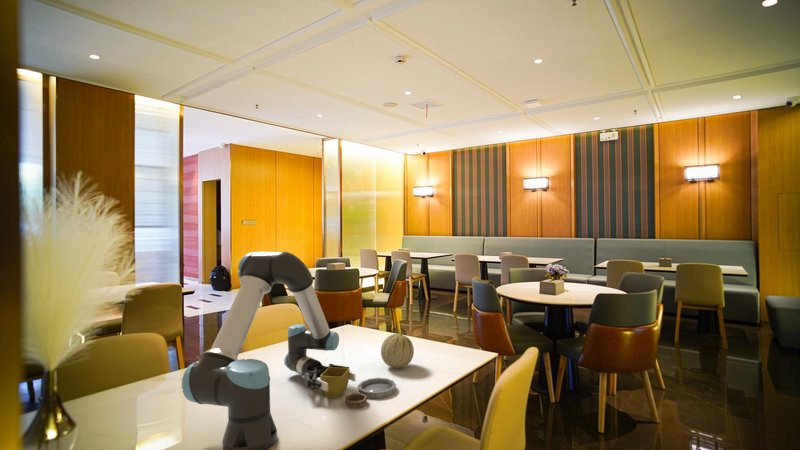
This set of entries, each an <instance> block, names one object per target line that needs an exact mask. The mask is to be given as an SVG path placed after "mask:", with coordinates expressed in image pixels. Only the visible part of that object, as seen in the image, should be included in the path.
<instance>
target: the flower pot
mask: <svg viewBox="0 0 800 450" xmlns="http://www.w3.org/2000/svg"><path fill="white" fill-rule="evenodd" d="M349 371H350V367H349V368H336V367H328V368H327V369H326V370H325V371H324V372H323V373H322V374H321V375H320V377H319V379H320V380H322V381H324V382H326V383H328V391H324V390H322V392H323V394H324V396H325V397H326V398H329V399H341V398H342V397H343V395H344V394H345V392H346V390H347V388H348V385H349V381H350V380H349ZM350 372H351V371H350Z"/></svg>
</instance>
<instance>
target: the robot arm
mask: <svg viewBox="0 0 800 450" xmlns="http://www.w3.org/2000/svg"><path fill="white" fill-rule="evenodd" d="M237 269H238V271H237V276H238V278H239V279H238V282H239V284H240V288H239V289H238V290H237V293H236V296H235V297H234V299H233V302H232V303H231V306H230V309H229V310H228V312H227V315H226V316H225V318H224V320H223V323H222V325H221V327H220V329H219V331H218V333H217V336H216V337H215V340H214V341H213V343H212V346H211V348H210V349H208V350H205V351H204V352H203V353H202V355H201V357H200V359H199V360H197V361H195V362H192V363H191V364H189V365H188V366H187V368H186V369H185V371H184V372H183V375H182V379H181V389H182V393H183V395H184V397H185V399H186V400H188V401H189V402H192V403H195V404H196V403H197V404H198V405H211V406H218V407H227V413H228V415H227V417H228V421H227V424H226V427H225V431H224V434H223V438H222V450H268V449H270V448H272V446H273V445H274V444H275V443H276V442H277V439H278V429H277V426H276V424H275V421H274V419H273V416H272V412H271V389H270V388H271V387H270V386H271V385H270V383H271V377H270V372H269V371H270V369H269V367H268V364H266V362H264V361H262V360H259V359H256V358H247V359H245V358H241V359H239V358H238V356H239V354H240V353H241V350H242V348H243V345H244V343H245V340H246V338H247V335H248V333H249V330H250V328H251V326H252V325H253V322H254V320H255V317H256V314H257V312H258V310H259V308H260V305H261V303H262V301H263V299H264V296H265V295H266V294H268V293H270V292H271V290H272V288H273V285H275V284H283V285H285V286H286V287H287V289H288V291H289V292H291V293H292V294H293V296H294V298H295V301H296V303H297V304H298V307H299V311H301V314H302V316H303V318H304V321H305V323H306V325H305V324H302V323H296V324H292V325H290V326H288V329H287V345H288V352H287V354H285V356H284V359H283V363H284V366H285V367H286V368H287V369H288V370H290V371H292V372H295V373H297V374H299V375H301V380H303V381H304V383H305V385H306V387H307V388H308V389H309V388H311V387H312V389H313V390H314V389H317V388H318V389H321V390H322V391H323V390H324V391H328V383H326V382H324V381H322V380H321V379H320V375H321V374H322V373H323V372H324V371H325V370H326V369H327V368H328V367H336V368H350V366H345V365H338V364H337V365H336V364H332V363H328V366H326V365H323V364H322V362H321V361H319V360H318V359H315V358H313V357H310V356H307V351H308V350H316V351H326V352H327V351H335V350H336V349H337V348H338V347H339V344H340V335H339V333H338V332H336V331H331V330H330V327H329V324H328V322H327V319H326V317H325V314H324V311H323V308H322V306H321V304H320V302H319V299H318V296H317V294H316V291H315V289H314V285H313V284H314V279H313V276H312V273H311V271H310V270H309V268H308V267H307V265H306V264H305V263H304V262H303V261H302V260H301V259H300V258H299V257H298V256H296V255H295V254H294V253H291V252H289V251H260V250H259V251H254V252H249V253H246V254H245V255H244V256H243V257H242V258H241V259H240V260H239V263H238V266H237ZM306 326H307V327H306ZM307 328H308V330H307ZM349 381H351V382H356V373H355V372H352V371H349Z"/></svg>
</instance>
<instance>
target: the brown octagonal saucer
mask: <svg viewBox="0 0 800 450" xmlns="http://www.w3.org/2000/svg"><path fill="white" fill-rule="evenodd" d="M367 401H368V398H367V396H366V395H364V394H362V393H359V392H358V393H357V392H354V393H350V394H348V395H346V396H345V398H344V405H345V407H346V408H348V409H351V410H352V409H353V410H356V409H361V408H365V406H366V405H367Z"/></svg>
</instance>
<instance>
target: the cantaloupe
mask: <svg viewBox="0 0 800 450" xmlns="http://www.w3.org/2000/svg"><path fill="white" fill-rule="evenodd" d="M414 349H415V348H414V345H413V342H412V340H411V339H410V338H409V337H408V336H406V335H404V334H403V333H402V331H400V332H399V333H393V334H390V335H388V336H387V337H386V338H385V339H384V340H383V341H382V345H381V347H380V355H381V358H382V360H383V362H384V363H385V365H387V366H389V367H391V368H393V369H402V368H405V367H407V366H408V365H409V364H410V363H411V362H412V360H413V359H414V355H415V353H414V352H415V350H414Z"/></svg>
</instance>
